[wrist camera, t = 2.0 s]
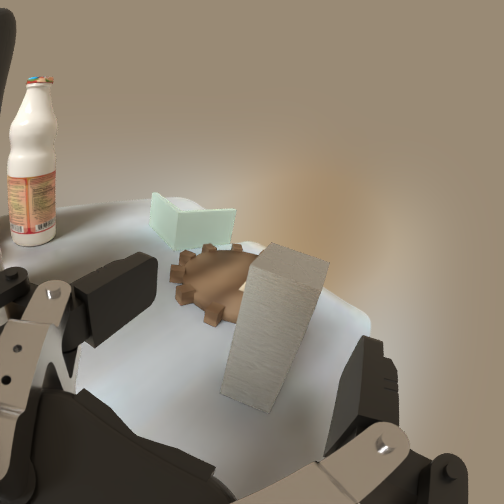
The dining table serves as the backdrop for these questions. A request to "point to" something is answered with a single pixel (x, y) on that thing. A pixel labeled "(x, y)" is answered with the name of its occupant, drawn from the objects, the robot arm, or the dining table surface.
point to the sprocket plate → (213, 281)
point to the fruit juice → (33, 166)
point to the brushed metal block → (271, 323)
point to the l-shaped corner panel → (190, 225)
